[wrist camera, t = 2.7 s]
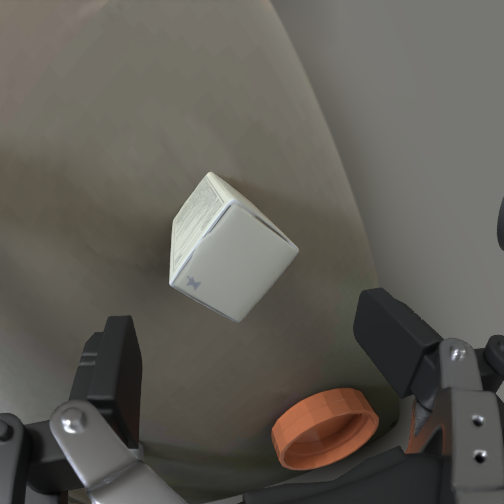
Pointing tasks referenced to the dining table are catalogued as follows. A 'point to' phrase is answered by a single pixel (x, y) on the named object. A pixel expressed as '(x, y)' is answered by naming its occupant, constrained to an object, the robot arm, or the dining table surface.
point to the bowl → (324, 429)
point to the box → (226, 250)
